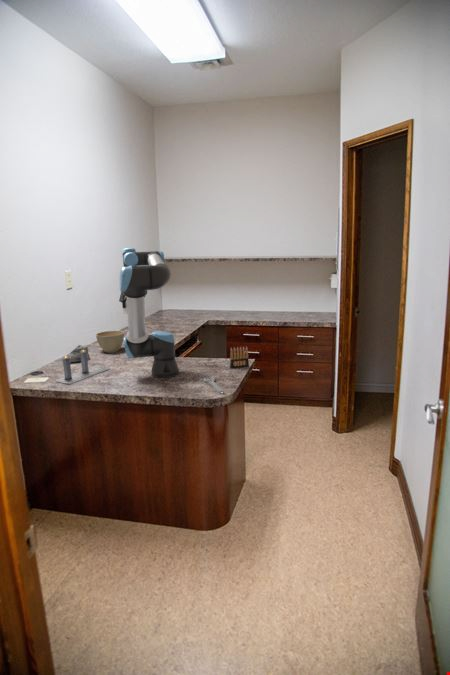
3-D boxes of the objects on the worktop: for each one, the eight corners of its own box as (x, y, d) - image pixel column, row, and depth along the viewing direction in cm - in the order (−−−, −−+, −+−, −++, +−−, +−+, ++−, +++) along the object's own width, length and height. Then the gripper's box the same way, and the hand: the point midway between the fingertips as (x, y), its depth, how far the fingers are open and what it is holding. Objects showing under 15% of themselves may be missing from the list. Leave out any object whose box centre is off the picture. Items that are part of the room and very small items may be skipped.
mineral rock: (67, 364, 270) (65, 348, 268) (68, 359, 280) (66, 344, 278) (89, 362, 273) (88, 346, 271) (90, 357, 283) (88, 342, 281)
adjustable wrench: (225, 395, 212) (225, 391, 211) (212, 397, 210) (212, 393, 210) (213, 379, 235) (213, 375, 235) (201, 380, 234) (201, 377, 233)
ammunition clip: (248, 365, 256) (247, 345, 253) (249, 366, 254) (248, 346, 251) (229, 367, 253) (229, 347, 251) (230, 368, 252) (230, 348, 249)
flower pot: (127, 352, 292) (125, 334, 290) (98, 356, 286) (97, 337, 284) (123, 346, 309) (122, 329, 306) (96, 349, 303) (94, 332, 300)
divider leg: (89, 371, 249) (87, 350, 246) (85, 372, 246) (83, 351, 244) (85, 370, 250) (83, 349, 247) (81, 371, 248) (79, 350, 245)
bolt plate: (110, 368, 258) (108, 346, 255) (69, 384, 233) (66, 359, 230) (97, 366, 263) (95, 344, 260) (56, 381, 237) (53, 357, 234)
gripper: (139, 273, 271) (142, 307, 276) (110, 277, 250) (114, 314, 255) (149, 273, 268) (151, 308, 273) (121, 277, 247) (124, 315, 251)
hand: (133, 311), depth 264 cm, fingers open, 13 cm apart
